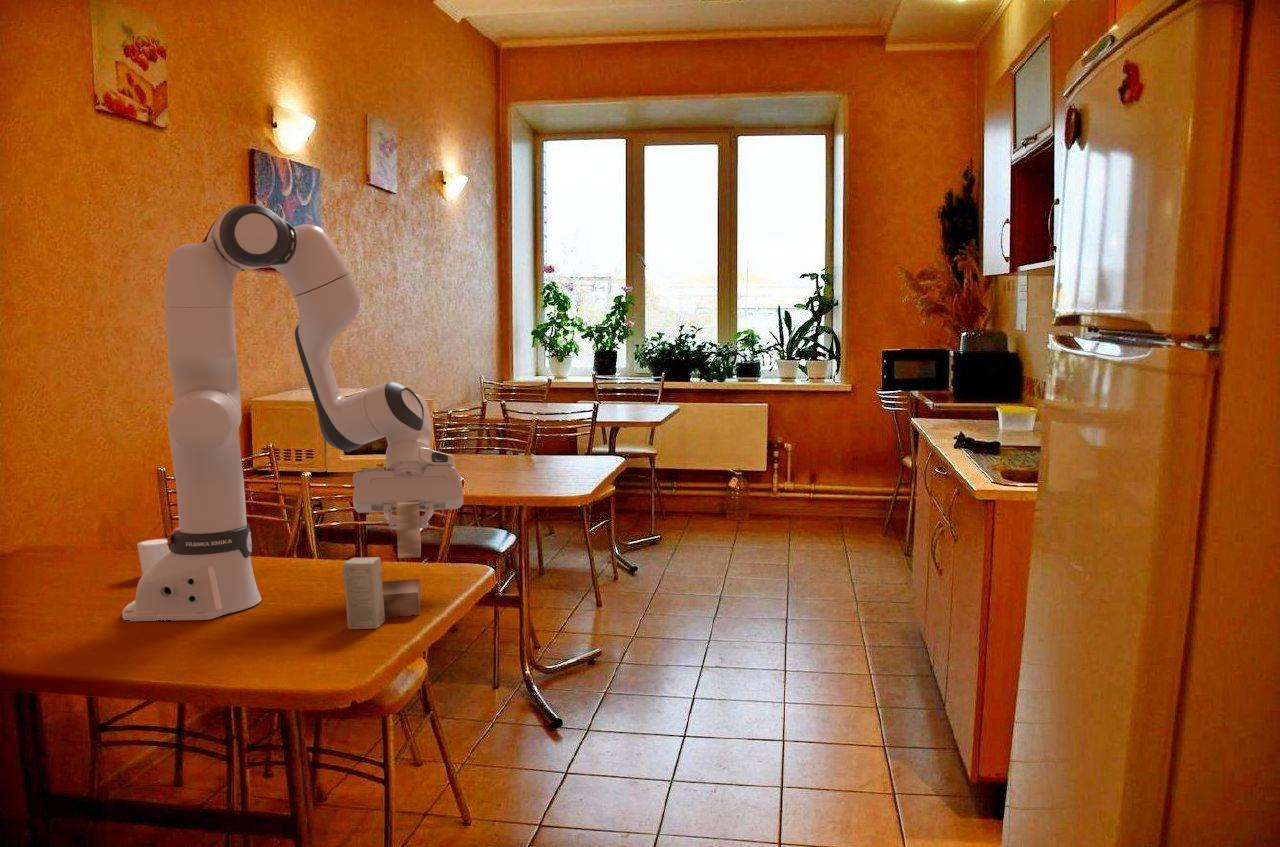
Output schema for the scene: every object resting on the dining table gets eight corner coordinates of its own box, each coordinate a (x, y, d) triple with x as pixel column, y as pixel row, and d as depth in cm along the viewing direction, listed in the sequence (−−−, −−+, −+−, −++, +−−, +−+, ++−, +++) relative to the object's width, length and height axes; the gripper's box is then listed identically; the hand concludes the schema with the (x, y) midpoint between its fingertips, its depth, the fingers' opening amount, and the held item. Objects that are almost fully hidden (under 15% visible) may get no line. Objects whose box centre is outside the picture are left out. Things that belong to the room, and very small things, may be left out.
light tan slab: (364, 619, 169) (363, 596, 168) (368, 604, 178) (367, 582, 177) (419, 615, 171) (418, 592, 170) (420, 600, 179) (419, 578, 179)
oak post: (398, 558, 183) (396, 504, 182) (399, 553, 187) (397, 500, 186) (420, 557, 184) (418, 503, 183) (420, 552, 188) (419, 499, 187)
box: (386, 621, 167) (382, 556, 166) (376, 629, 163) (373, 563, 162) (355, 621, 168) (352, 556, 167) (345, 629, 164) (341, 563, 163)
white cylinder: (170, 569, 206) (168, 536, 206) (182, 575, 201) (179, 541, 201) (135, 575, 202) (132, 541, 201) (145, 582, 197) (143, 547, 196)
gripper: (351, 458, 189) (348, 520, 180) (461, 455, 192) (463, 515, 184) (354, 478, 193) (351, 539, 185) (462, 474, 197) (464, 534, 189)
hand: (408, 527), depth 184 cm, fingers closed on oak post, 4 cm apart
